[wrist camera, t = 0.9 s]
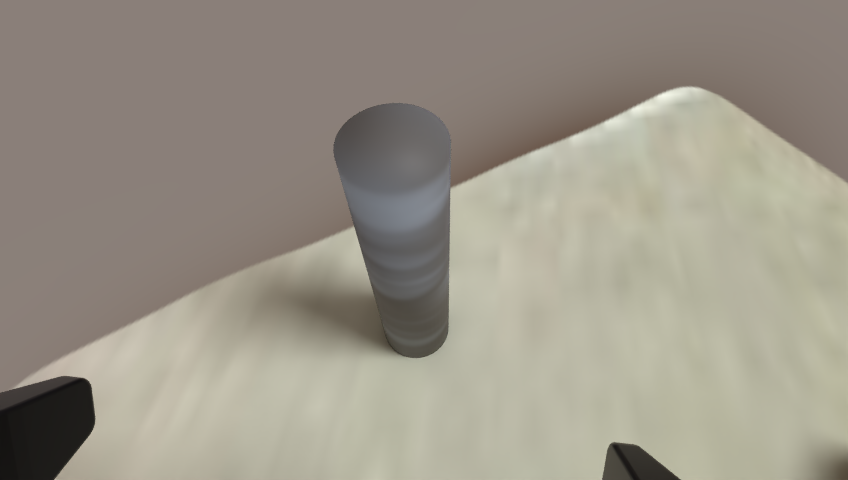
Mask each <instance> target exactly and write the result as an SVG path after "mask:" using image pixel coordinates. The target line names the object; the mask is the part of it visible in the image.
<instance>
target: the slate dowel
mask: <svg viewBox="0 0 848 480" xmlns="http://www.w3.org/2000/svg"><path fill="white" fill-rule="evenodd" d="M334 157H335V161H336V164H337V168H338V171H339V174H340V178H341V182H342V185H343V188H344V192H345V195H346V199H347V202H348V206H349V209H350V213H351V216H352V219H353V223H354V227H355V230H356V234H357V237H358V241H359V244H360V247H361V251H362V254H363V258H364V261H365V265H366V268H367V272H368V275H369V279H370V282H371V286H372V289H373V293H374V296H375V300H376V303H377V306H378V310H379V313H380V317H381V320H382V324H383V327H384V331H385V334H386V337H387V340H388V342H389V344H390V345H391V347H392V348H393V349H394V350H396V351H397V352H398V353H400V354H402V355H404V356H407V357H412V358H420V357H425V356H428V355H430V354H432V353H434V352H435V351H437V350H438V349H439V348H440V347H441V346H442V345H443V343H444V342H445V340H446V337H447V334H448V319H449V244H450V167H451V161H450V160H451V139H450V135H449V131H448V129H447V127H446V126H445V124H444V123H443V121H442V120H441V119H440V118H438V117H437V116H436V115H435V114H433V113H432V112H430V111H428V110H426V109H424V108H421V107H419V106H415V105H410V104H403V103H390V104H382V105H377V106H374V107H371V108H368V109H365V110H363V111H361V112H359V113H358V114H356V115H354V116H353V117H352V118H350V119H349V120H348V121H347V122H346V123H345V124H344V125H343V126H342V128H341V129H340V130H339V132H338V134H337V136H336V138H335V142H334Z"/></svg>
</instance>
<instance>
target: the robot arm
mask: <svg viewBox="0 0 848 480" xmlns="http://www.w3.org/2000/svg"><path fill="white" fill-rule="evenodd" d="M94 425H95V411H94V403H93V395H92V387H91V384H90V383H89V381H88V380H86V379H85V378H78V377H70V376H61V377H57V378H53V379H50V380H46V381H42V382H39V383H35V384H31V385H27V386H24V387H20V388H16V389H13V390H9V391H5V392H2V393H0V480H54V479H55V478H56V476H57V475H58V474H59V473H60V471H61V470H62V469H63V468H64V466H65V465H66V464H67V463H68V461H69V460H70V459H71V458H72V456H73V455H74V454H75V453H76V451H77V450H78V449H79V448H80V446H81V445H82V444H83V443H84V441H85V440H86V439H87V438H88V436H89V435H90V434H91V432H92V430H93V428H94ZM602 480H680V479H679V478H678V477H677V476H675V475H674V474H673V473H672V472H670V471H669V470H668V469H667V468H666V467H664V466H663V465H662V464H661V463H659V462H658V461H657V460H656V459H654V458H653V457H652V456H651V455H649V454H648V453H647V452H646V451H644V450H643V449H642V448H640V447H639V446H637V445H634V444H625V443H617V442H613V443H611V444H610V445H609V447H608V450H607V455H606V461H605V467H604V472H603V478H602Z"/></svg>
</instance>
